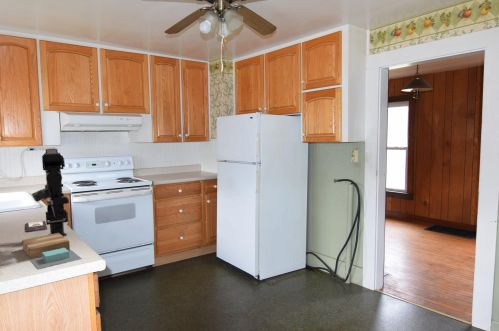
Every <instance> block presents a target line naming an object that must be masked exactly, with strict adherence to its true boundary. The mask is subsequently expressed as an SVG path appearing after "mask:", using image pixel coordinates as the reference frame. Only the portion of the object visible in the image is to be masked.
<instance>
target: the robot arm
mask: <svg viewBox="0 0 499 331" xmlns="http://www.w3.org/2000/svg"><path fill="white" fill-rule="evenodd" d="M41 160H42V161H41V163H42V164H41V165H42V171H44V172H45V180H46V184H45V185H44V188H42V189H40V190H37V191H35V192H33V193H31V196H32V199H33V200H34V201H35V202H40V201H42V200H44V201H45V200H47V201H45V203H46V204H48V205H47V207H46V211H45V223H46V226H48V225H49V231H50V232H49V233H48V234H47V235H51V234H56V233H59V234H61V235H62V236H63V237H65V236H67V233H66V232H65V225H64V223H67V222H69V214H68V211H67V210H66V209H65V205H66V204H70V200H69V197H67V196H66V195H65V194H64V192H63V187H64V184H63V182H62V181H63V175H62V171H61V170H64V168H65V167H66V166H65V165H66V164H65V158H64V156H63V155H61V152H58V148H47V149H45V152H44V153H43V154H42V155H41Z"/></svg>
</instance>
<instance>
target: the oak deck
mask: <svg viewBox="0 0 499 331" xmlns="http://www.w3.org/2000/svg"><path fill="white" fill-rule="evenodd" d="M21 241H22V244H21V245H22V250H23V251H24V253H26V254H27V256H28V257H29V259H34V258H39V257H43V256H42V252H47V251H51V250H56V249H61V248H66V249H67V250H68V251H70V250H71V246H70V240H69V239H67V238H66V237H65V236H62V235H61V234H59V233H56V234H51V235H48V234H47V235H41V236H36V237H29V238H25V239H22V240H21Z"/></svg>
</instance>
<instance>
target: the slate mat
mask: <svg viewBox="0 0 499 331" xmlns="http://www.w3.org/2000/svg"><path fill="white" fill-rule="evenodd" d="M29 260H30V262H31V263H32V264H33V266H34V267H35V269H37V270H40V269H45V268H48V267H53V266H58V265H62V264H66V263H69V262H73V261H78V260H82V257H80V256H79V254H77V253H75V251H73V250H71V249H70V251H69V258H65V259H61V260H57V261H53V262H48V263H46V262H45V261H44V260H43V257H38V258H33V259H31V258H29Z"/></svg>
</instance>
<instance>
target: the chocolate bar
mask: <svg viewBox="0 0 499 331" xmlns="http://www.w3.org/2000/svg"><path fill="white" fill-rule="evenodd" d="M44 230H45V231H47V230H48V225H47V224H46V220H42V221H33V222H26V223H25V233H33V232H39V231H44Z"/></svg>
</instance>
